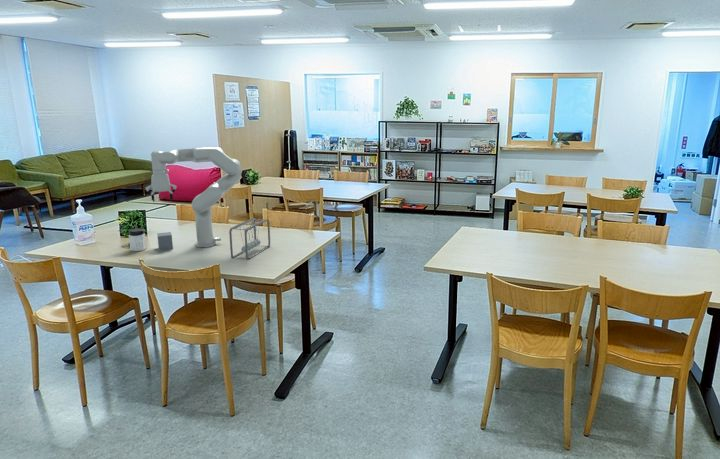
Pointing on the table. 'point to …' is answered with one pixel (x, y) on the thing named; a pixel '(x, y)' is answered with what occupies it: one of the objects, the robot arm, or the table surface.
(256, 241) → the newton's cradle
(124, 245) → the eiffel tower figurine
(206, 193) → the robot arm
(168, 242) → the gray cube
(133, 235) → the jar
